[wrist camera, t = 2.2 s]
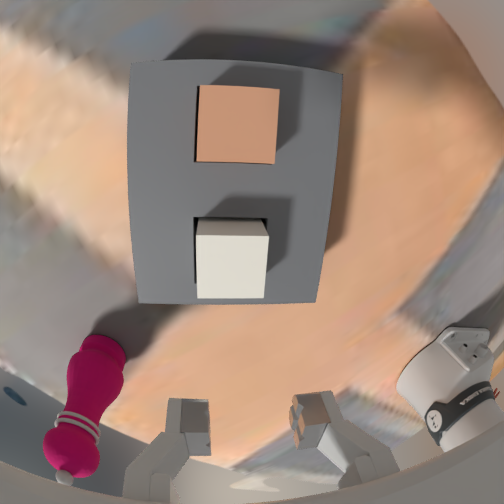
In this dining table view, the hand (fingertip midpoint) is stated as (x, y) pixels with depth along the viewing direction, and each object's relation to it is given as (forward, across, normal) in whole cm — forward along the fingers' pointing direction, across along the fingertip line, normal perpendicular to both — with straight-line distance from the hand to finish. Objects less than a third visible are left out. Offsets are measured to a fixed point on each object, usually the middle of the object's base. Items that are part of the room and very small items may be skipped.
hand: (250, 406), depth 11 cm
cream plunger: (+17, 0, 0) cm, 17 cm away
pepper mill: (+21, -16, -17) cm, 32 cm away
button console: (+21, 0, +5) cm, 22 cm away
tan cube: (+17, 0, +10) cm, 20 cm away
